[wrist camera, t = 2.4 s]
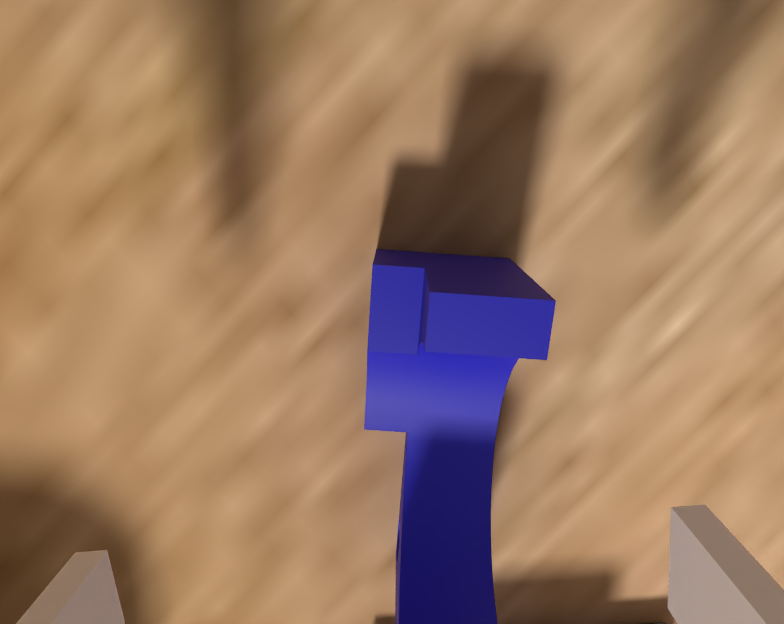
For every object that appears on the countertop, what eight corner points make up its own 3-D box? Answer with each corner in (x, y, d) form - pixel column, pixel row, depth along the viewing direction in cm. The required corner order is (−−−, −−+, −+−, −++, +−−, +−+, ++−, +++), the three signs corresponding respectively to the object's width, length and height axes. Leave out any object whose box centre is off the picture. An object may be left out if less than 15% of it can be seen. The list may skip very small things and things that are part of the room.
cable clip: (376, 248, 19) (366, 287, 13) (508, 257, 19) (555, 300, 14) (358, 550, 22) (343, 686, 17) (471, 557, 22) (496, 696, 17)
